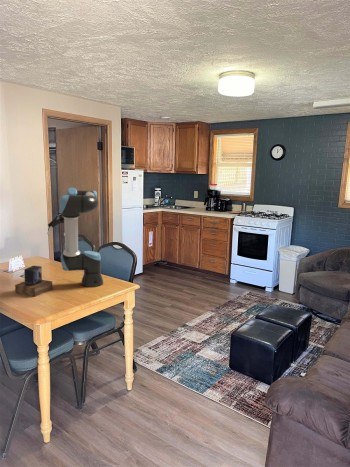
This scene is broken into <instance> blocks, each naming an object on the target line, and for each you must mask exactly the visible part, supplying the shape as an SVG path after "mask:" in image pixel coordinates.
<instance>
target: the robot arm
mask: <svg viewBox="0 0 350 467" xmlns="http://www.w3.org/2000/svg"><path fill="white" fill-rule="evenodd" d="M98 207H99V199H98V193H97V191H96V190H77V188H75V187H69V188H67V190H66V195H61V196H60V203H59V210H58V211H59V214H60V216H57V215H56V216H55V218H54V219H52V220H51V221H50V222H49V223H48V224H47V226H48V229H47V232H46V234H47V236H48V237H49V236H50V235H51V233H52V232H53V229H54V228H55V227H56V226H58V225H59V224H64V232H63V236H64V250H63V251H62V254H60V262H61V267H62V270H63V271H66V272H68V271H69V272H73V271H83V276H82V277H81V278H82V279H81V286H83V287H88V288H94V287H95V288H96V287H100V286H103V285H104V278H103V275H102V272H101V271H102V270H101V269H102V268H101V266H102V265H101V263H102V258H101V256H102V255H101V254H100V253H99V252H97V251H94V250H93V251H92V250H85V251H83V253H81V250H79V218H80V216H81V214H88V213H91V212H94V211H95V210H96V209H97V208H98Z"/></svg>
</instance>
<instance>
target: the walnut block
mask: <svg viewBox="0 0 350 467" xmlns="http://www.w3.org/2000/svg"><path fill="white" fill-rule="evenodd" d="M51 290H53V280H46V279H42V281H41V282H39V283H37V284H35V285H33V286H32V285H25V280H24V281H21V282H20V283H16V284H14V291H15V294H17V295H23V294H24V296H31V297H38V296H41V295H42V294H45V293H47V292H50V291H51Z"/></svg>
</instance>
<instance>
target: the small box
mask: <svg viewBox="0 0 350 467" xmlns="http://www.w3.org/2000/svg"><path fill="white" fill-rule="evenodd" d="M42 270H43V269H42V265H41V266H40V265H31V266H29V267H27V268H24V270H23V271H24V273H23V274H24V281H25V285H32V286H33V285H35V284H37V283H39V282H41V281H42V280H43V275H42V274H43V272H42Z"/></svg>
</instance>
